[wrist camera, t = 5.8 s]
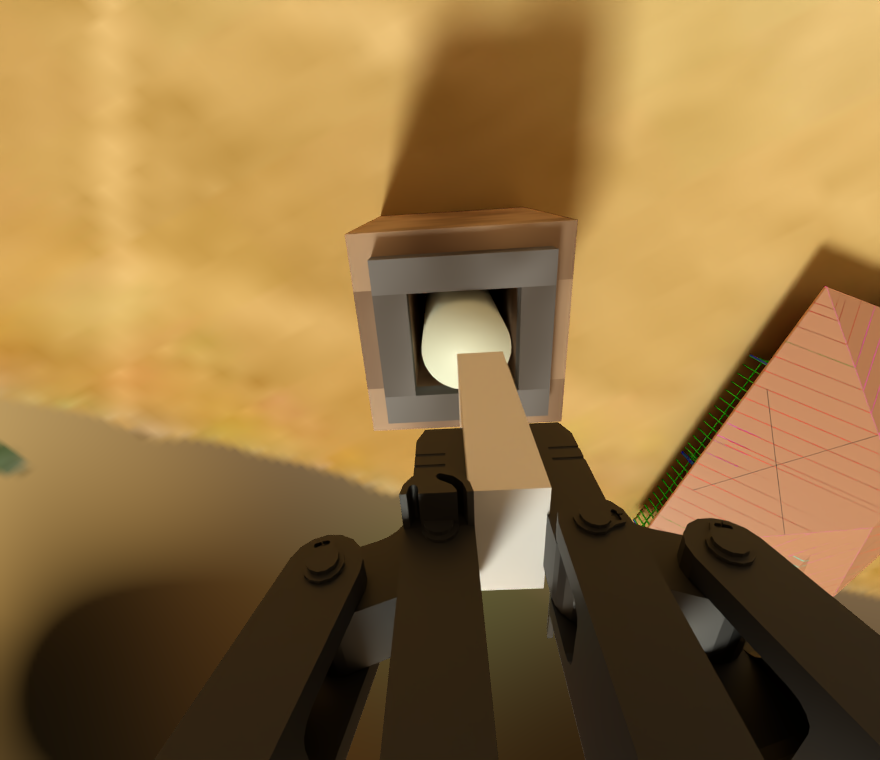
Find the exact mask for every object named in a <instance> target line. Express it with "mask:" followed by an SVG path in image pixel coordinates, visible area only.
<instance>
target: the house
mask: <svg viewBox="0 0 880 760" xmlns="http://www.w3.org/2000/svg"><path fill="white" fill-rule="evenodd" d="M749 356H750V357H751V358H753V359H755V360H757V361H759V362H761V363H760V364H759V366H758V367H757V369H756V370H755V371H754V370H753V369H751V368H749V367H748V366H746V365H744V364H743V365H744V366H746V367H747V368H749V369H751V370H753V371H754V372H753V373H752V375H751V376H750V377H749V379H747V378H745V377H744V376H742V375H740V374H739V373H737V374H739V375H740V376H742V377H744V378H745V379H747V380H748V381H747V382H746V384H745V385H744V386H743V388H742V387H740V386H738V385H737V384H735V383H734V382H732V381H731V382H732V383H734V384H735V385H737V386H738V387H740V388H741V390H740V391H739V393H738V394H737V395H736V396H735V395H734V394H732V393H731V392H729V391H728V390H726V389H725V390H726V391H728V392H729V393H730V394H732V395H733V396H735V399H734V400H733V402H732V403H731V404H729V403H727V402H726V401H725V400H723V399H722V398H720V399H722V400H723V401H724V402H726V403H727V404H728V405H729V406H728V408H727V409H726V410H725V412H723V411H722V410H720V409H719V408H718V407H717V406H715V405H714V406H715V407H716V408H717V409H719V410H720V411H721V412H723V413H724V414H723V415H722V417H721V418H720V419H719V420H717V419H716V418H715V417H714V416H713V415H711V414H710V413H709V414H710V415H711V416H712V417H713V418H715V419H716V420H717V423H716V424H715V426H714V427H713V428H712V427H711V426H710V425H709V424H708V423H706V422H705V421H704V422H705V423H706V424H707V425H708V426H709V427H710V428H712V431H711V432H710V433H709V435H708V436H707V435H706V434H705V433H704V432H703V431H702V430H701V429H699V428H698V429H699V430H700V431H701V432H702V433H703V434H704V435H705V436H707V437H706V438H705V439H704V441H703V442H702V443H701V442H700V441H699V440H698V439H697V438H696V437H695V436H694V435H693V437H694V438H695V439H697V440H698V441H699V442H700V443H701V446H700V447H699V448H698V450H696V449H695V448H694V447H693V446H692V445H691V444H690V443H688V444H689V445H690V446H691V447H692V448H693V449H694V450H695V451H696V452H695V453H694V455H695V454H696V453H698V451H699V449H700V448H701V447H702V445H703V443H704V442H705V440H706V439H707V438H709V436H710V434H711V433H712V432H713V430H714V428H715V427H716V425H717V424H718V422H719V423H721V422H720V421H721V419H722V418H723V416H724V415H726V416H728V415H727V414H725V413H726V411H727V410H728V409H729V407H730V406H731V405H732V404H733V403H734V401H735V400H736V399H739V398H738V397H737V396H738V395H739V394H740V392H741V391H742V389H743V390H744V391H746V390H745V389H744V388H745V386H746V385H747V383H748V382H749V381H750V378H751V377H752V376H753V374H754V373H755V372H756V371H757V370H758V368H759V367H760V366H761V364H764V365H766V366H765V368H764V369H763V371H762V372H761V373H758V372H756V373H758V374H759V376H758V377H757V379H756V380H755V381H754V383H753V382H752V381H750V382H752V383H753V384H752V386H751V387H750V388H749V390H748V391H746V394H745V395H744V396H743V398H742V399H739V400H740V402H739V403H738V405H737V406H736V407H735V408H734V407H733V406H731V407H732V408H734V410H733V411H732V413H731V414H730V416H728V418H727V420H726V421H725V422H724V424H722V423H721V424H722V426H721V428H720V429H719V430H718V432H717V431H716V430H714V431H715V432H716V435H715V436H714V437H713V439H712V440H711V439H710V438H709V439H710V440H711V441H710V443H709V444H708V445H707V447H705V446H704V445H703V446H704V447H705V450H704V451H703V452H702V454H701V455H700V454H699V453H698V454H699V455H700V456H699V457H698V456H696V457H695V456H694V455H693V454H692V453H691V452H690V451H689V450H688V449H687V447H685V448H686V449H687V450H688V451H689V452H690V453H691V454H692V455H693V457H692V456H691V455H690V454H688V455H689V456H690V457H691V459H690V458H689V457H688V456H687V455H686V454H685V453H684V452H683V451H682V452H681V454H682V455H683V456H684V457H685V458H686V459H687V460H688V463H687V464H686V466H687V465H688V464H689V462H690V463H691V464H692V467H691V469H690V470H689V471H687V470H686V469H685V468H686V466H685V467H683V465H682V464H681V463H680V462H679V461H678V460H677V459H676V460H677V461H678V463H679V464H680V465H681V466H682V467H683V468H684V469H683V470H682V472H681V473H680V475H681V474H682V473H683V471H684V470H685V471H686V472H687V474H686V475H685V477H684V478H682V477H681V476H680V475H679V473H678V472H677V471H676V470H675V469H674V467H673V466H671V467H672V468H673V469H674V470H675V472H676V473H677V474H678V477H679V476H680V478H681V479H682V481H681V482H680V484H679V485H677V484H676V483H675V482H676V480H677V479H678V477H677V478H676V479H675V481H674V480H673V479H672V478H671V476H670V475H669V474H668V473H667V474H668V476H669V477H670V478H671V479H672V481H673V482H674V483H673V484H672V486H673V485H674V484H676V486H677V488H676V489H675V490H674V492H672V490H671V488H672V486H671V487H670V488H669V486H668V485H667V484H666V483H665V481H664V480H663V479H662V481H663V482H664V483H665V484H666V486H667V487H668V488H669V489H668V490H667V492H666V493H665V494H664V493H663V491H662V490H661V489H660V487H659V486H658V488H659V489H660V490H661V492H662V493H663V495H664V497H666V494H667V493H668V491H669V490H670V491H671V492H672V494H671V496H670V497H669V499H668V498H667V497H666V499H667V501H666V503H665V504H664V505H663V504H662V503H661V502H662V500H663V499H664V497H663V498H662V499H661V501H660V500H659V498H658V497H657V496H656V494H655V493H654V492H653V493H654V495H655V496H656V498H657V499H658V500H659V503H658V504H657V506H658V505H659V504H660V503H661V505H662V506H663V507H662V508H661V509H660V511H658V510H657V506H656V507H655V506H654V504H653V503H652V501H651V500H650V498H648V499H649V500H650V502H651V503H652V505H653V506H654V508H655V509H654V510H653V512H652V513H651V512H650V511H649V509H648V508H647V506H646V505H645V504H644V505H645V507H646V508H647V510H648V512H649V513H650V515H649V517H650V516H652V518H653V520H652V522H651V523H650V524H649V522H648V521H647V520H648V519H649V517H648V518H647V519H646V518H645V516H644V514H643V513H642V511H641V510H640V512H641V513H642V515H643V517H644V518H645V520H646V521H645V523H643V522H642V521H641V519H640V517H639V516H638V515H637V516H638V518H639V520H640V521H641V523H642V524H643V525H642V526H644V527H645V524H646V522H647V523H648V525H649V526H648V528H651V529H656V530H661V531H666V532H671V533H676V534H681V535H683V532H684V530H685V528H686V526H687V524H688V523H690V522H692V521H694V520H696V519H702V518H715V519H721V520H726V521H730V522H732V523H735V524H737V525H739V526H742V527H744V528H746V529H748V530H749V531H751V532H752V533H754V534H756V535H757V536H759V537H760V538H762V539H763V540H764V541H765V542H766V543H768V544H769V545H770V546H771V547H773V548H774V549H775V550H776V551H777V552H779V553H780V554H781V555H782V556H784V557H785V558H786V559H787V560H788V561H790V562H791V563H792V564H793V565H795V566H796V567H797V568H798V569H799V570H801V571H802V572H803V573H804V574H805V575H807V576H808V577H809V578H810V579H812V580H813V581H814V582H815V583H816V584H818V585H819V586H820V587H821V588H823V589H824V590H825V591H826V592H827V593H829V594H830V595H831V596H832V597H834V596H835V595H836V594H837V593H838V592H839V591H840V590H842V589H843V588H844V587H845V586H846V585H847V584H848V583H849V582H850V581H851V580H853V579H854V578H855V577H856V576H857V575H858V574H859V573H860V572H861V571H863V570H864V569H865V568H866V567H867V566H868V565H869V564H870V563H871V562H872V561H874V560H875V559H876V558H877V557H878V556H879V555H880V307H878V306H875V305H873V304H870V303H867V302H865V301H862V300H860V299H857V298H854V297H852V296H849V295H847V294H844V293H842V292H839V291H836V290H834V289H831V288H829V287H827V286H824V287H823V289H822V290H821V292H820V293H819V294H818V296H817V297H816V298H815V300H814V301H813V302H812V304H811V305H810V307H809V308H808V309H807V311H806V312H805V313H804V315H803V316H802V317H801V319H800V320H799V322H798V323H797V324H796V326H795V327H794V328H793V330H792V331H791V332H790V334H789V335H788V337H787V338H786V339H785V341H784V342H783V343H782V345H781V346H780V347H779V349H778V350H777V351H776V353H775V354H774V356H773V357H772V358H771V360H770V361H768V360H766V361H765V360H763V359H761V358H759V357H758V358H757V357H755V356H753V355H751V354H750V355H749ZM694 457H695V459H696V460H695V459H694ZM692 459H693V460H694V461H692ZM655 510H656V511H657V512H658V514H657V515H656V516H655V518H654V517H653V515H652V514H653V513H654V511H655ZM633 521H634V523H636V524H638V523H637V522H636V520H635V519H633Z"/></svg>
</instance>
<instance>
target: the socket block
mask: <svg viewBox="0 0 880 760" xmlns="http://www.w3.org/2000/svg"><path fill="white" fill-rule="evenodd" d="M577 222H578V220H576V219H571V218H567V217H563V216H559V215H555V214H550V213H546V212H542V211H538V210H534V209H529V208H525V207H519V208H503V209H487V210H471V211H455V212H439V213H423V214H407V215H391V216H380V217H378V218H376V219H374V220H372V221H370V222H368V223H366V224H364V225H362V226H360V227H358V228H356V229H354V230H352V231H350V232H348V233H347V234H345V239H346V246H347V252H348V259H349V266H350V272H351V279H352V286H353V292H354V299H355V306H356V313H357V319H358V326H359V333H360V339H361V346H362V353H363V359H364V366H365V373H366V380H367V386H368V393H369V400H370V406H371V413H372V420H373V426H374V431H382V430H401V429H420V428H440V427H459V426H460V415H459V392H458V389H455V388H451V387H449V386H446V385H444V384H442V383H441V382H439V381H438V380H436V379H435V378H434V377H433V376H432V375H431V374H430V372H429V371H428V369H427V368H426V366H425V364H424V361H423V357H422V338H423V328H424V311H423V298H422V293H431V292H448V291H465V290H482V289H488V291H489V293H490V295H491V297H492V299H493V301H494V303H495V305H496V307H497V309H498V311H499V313H500V315H501V317H502V319H503V321H504V323H505V325H506V327H507V330H508V332H509V335H510V339H511V354H510V358H509V361H508V363H507V365H508V368H509V370H510V373H511V376H512V379H513V382H514V384H515V387H516V390H517V393H518V395H519V398H520V401H521V404H522V407H523V409H524V412H525V415H526V418H527V421H528V423H537V422H556V421H561V419H562V406H563V394H564V382H565V369H566V357H567V345H568V333H569V320H570V308H571V296H572V283H573V271H574V259H575V247H576V234H577Z"/></svg>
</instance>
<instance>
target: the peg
mask: <svg viewBox="0 0 880 760" xmlns="http://www.w3.org/2000/svg"><path fill="white" fill-rule="evenodd" d="M500 351H503V354H504V356H505V359H506V362H507V363H508V361H509V358H510V354H511V339H510V335H509V332H508V330H507V327H506V325H505V323H504V321H503V319H502V317H501V315H500V313H499V311H498V309H497V307H496V305H495V303H494V301H493V299H492V297H491V295H490V293H489V291H488V289H482V290H465V291H448V292H431V293H427V299H426V308H425V318H424V328H423V338H422V357H423V361H424V364H425V366H426V368H427V369H428V371H429V372H430V374H431V375H432V376H433V377H434V378H435V379H436V380H438V381H439V382H441V383H442V384H444V385H446V386H449V387H451V388H455V389H458V368H457V354H462V353H481V352H500Z"/></svg>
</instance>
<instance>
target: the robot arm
mask: <svg viewBox="0 0 880 760" xmlns="http://www.w3.org/2000/svg"><path fill="white" fill-rule="evenodd" d="M457 368H458V392H459V415H460V428H455V429H434V430H425V431H424V432H423V434H422V435H421V436H420V438H419V439H418V440H417V443H416V454H415V455H416V457H415V465H414V466H415V468H414V476H412V477H411V478H410V479H409V480H408V481H407V482H406V483H405V484H404V485H403V486H402V489H401V491H400V494H399V497H400V504H401V512H402V519H403V526H402V527H401V528H400V529H399V530H398V531H397V532H395V533H394V534H393V535H391V536H389V537H387V538H385V539H382V540H380V541H378V542H374V543H371V544H368V545H365V546H362V547H360V546H359V545H358V544H357V543H356V542H355V541H354V540H353V539H351V538H348V537H345V536H343V535H327V536H324V537H320V538H317V539H314V540H312V541H310V542H309V543H307V544H305V545H304V546H302V547H301V548H300V549H299V550H298V551H297V552H296V553H295V554H294V555H293V556H292V557H291V558H290V560H289V561H288V563H287V564H286V566H285V567H284V569H283V570H282V572H281V573H280V575H279V576H278V577H277V579H276V581H275V582H274V583H273V585H272V586H271V588H270V589H269V591H268V592H267V594H266V595H265V597H264V598H263V600H262V601H261V603H260V604H259V606H258V607H257V608H256V610H255V611H254V613H253V614H252V616H251V617H250V619H249V620H248V622H247V623H246V625H245V626H244V628H243V629H242V631H241V632H240V634H239V635H238V637H237V638H236V640H235V641H234V643H233V644H232V646H231V647H230V649H229V650H228V651H227V653H226V654H225V656H224V658H223V659H222V660H221V662H220V663H219V665H218V666H217V668H216V669H215V671H214V672H213V674H212V675H211V677H210V678H209V680H208V681H207V682H206V684H205V686H204V687H203V688H202V690H201V691H200V693H199V694H198V696H197V697H196V699H195V700H194V702H193V703H192V705H191V706H190V708H189V709H188V711H187V712H186V713H185V715H184V716H183V718H182V720H181V721H180V722H179V724H178V725H177V727H176V728H175V730H174V731H173V733H172V734H171V736H170V737H169V739H168V740H167V742H166V743H165V745H164V746H163V748H162V749H161V751H160V752H159V753H158V755H157V757H156V758H155V759H154V760H346V757H347V755H348V752H349V749H350V746H351V743H352V740H353V737H354V735H355V732H356V729H357V726H358V723H359V720H360V717H361V715H362V711H363V709H364V706H365V703H366V700H367V697H368V694H369V692H370V689H371V686H372V683H373V680H374V677H375V675H376V672H377V669H378V666H379V662H381V661H383V660H385V659H388V658H390V668H389V676H388V677H389V678H388V687H387V696H386V706H385V716H384V725H383V735H382V744H381V754H380V760H498V751H497V742H496V731H495V721H494V712H493V702H492V692H491V682H490V672H489V663H488V653H487V643H486V633H485V622H484V614H483V603H482V593H481V590H505V589H533V588H543V587H544V575H546V579H547V583H548V586H549V590H550V599H549V610H548V622H547V638H553V631H554V634H555V638H556V642H557V646H558V650H559V655H560V658H561V662H562V666H563V671H564V675H565V679H566V683H567V687H568V691H569V695H570V699H571V703H572V707H573V711H574V715H575V719H576V724H577V727H578V732H579V735H580V740H581V744H582V747H583V752H584V756H585V760H880V635H879V634H877V633H876V632H875V631H874V630H873V629H871V628H870V627H869V626H868V625H866V624H865V623H864V622H863V621H862V620H860V619H859V618H858V617H857V616H855V615H854V614H853V613H852V612H851V611H849V610H848V609H847V608H846V607H845V606H843V605H842V604H841V603H839V602H838V601H837V600H836V599H835V598H833V597H832V596H831V595H830V594H829V593H827V592H826V591H825V590H824V589H823V588H821V587H820V586H819V585H818V584H816V583H815V582H814V581H813V580H812V579H810V578H809V577H808V576H807V575H805V574H804V573H803V572H802V571H801V570H799V569H798V568H797V567H796V566H795V565H793V564H792V563H791V562H790V561H788V560H787V559H786V558H785V557H784V556H782V555H781V554H780V553H779V552H777V551H776V550H775V549H774V548H773V547H771V546H770V545H769V544H768V543H766V542H765V541H764V540H763V539H762V538H760V537H759V536H757V535H756V534H754V533H752V532H751V531H749V530H748V529H746V528H744V527H742V526H739V525H737V524H735V523H732V522H730V521H726V520H721V519H715V518H702V519H696V520H694V521H692V522H690V523H688V524H687V526H686V528H685V530H684V532H683V535H681V534H676V533H671V532H666V531H661V530H656V529H651V528H648V527H644V526H640V525H638V524H636V523H633V522H632V520H631V519H630V517H629V516H628V515H627V514H626V513H625V511H624V510H623V509H622V508H620V507H618V506H617V505H615V504H614V503H612V502H611V501H608V500H606V499H605V497H604V495H603V493H602V491H601V489H600V487H599V485H598V483H597V482H596V480H595V478H594V476H593V474H592V472H591V470H590V468H589V466H588V464H587V462H586V460H585V459H584V458H583V454H582V452H581V450H580V449H579V448H578V445H577V443H576V441H575V439H574V437H573V435H572V433H571V432H570V431H568V430H567V429H566V428H565V427H563V426H562V425H561V424H559V423H558V422H553V423H532V424H529V423H528V421H527V418H526V415H525V412H524V409H523V407H522V404H521V401H520V398H519V395H518V393H517V390H516V387H515V384H514V382H513V379H512V376H511V373H510V370H509V368H508V365H507V362H506V359H505V356H504V354H503V351H500V352H481V353H462V354H457Z"/></svg>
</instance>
